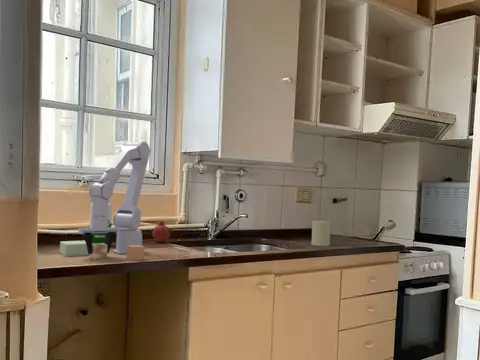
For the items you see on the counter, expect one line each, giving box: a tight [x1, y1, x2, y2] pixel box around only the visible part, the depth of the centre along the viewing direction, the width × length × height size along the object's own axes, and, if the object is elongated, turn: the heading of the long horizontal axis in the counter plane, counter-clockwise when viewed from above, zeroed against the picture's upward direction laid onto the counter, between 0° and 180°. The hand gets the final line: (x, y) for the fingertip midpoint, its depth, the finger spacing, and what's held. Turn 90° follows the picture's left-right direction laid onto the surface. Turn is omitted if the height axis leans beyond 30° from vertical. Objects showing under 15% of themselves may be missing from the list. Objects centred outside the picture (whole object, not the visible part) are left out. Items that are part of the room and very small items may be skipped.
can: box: [310, 220, 332, 247], centre depth 229 cm, size 9×9×12 cm
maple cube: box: [89, 243, 108, 260], centre depth 167 cm, size 5×5×5 cm
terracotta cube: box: [126, 245, 146, 261], centre depth 167 cm, size 5×5×5 cm
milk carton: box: [88, 202, 113, 244], centre depth 196 cm, size 9×9×20 cm
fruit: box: [152, 220, 171, 243], centre depth 214 cm, size 8×8×10 cm
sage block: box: [59, 240, 90, 257], centre depth 173 cm, size 9×9×4 cm
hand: (98, 253), depth 167 cm, fingers open, 6 cm apart
